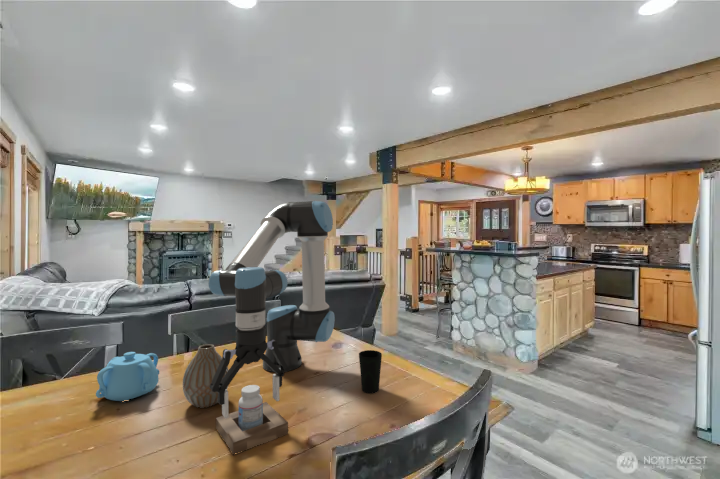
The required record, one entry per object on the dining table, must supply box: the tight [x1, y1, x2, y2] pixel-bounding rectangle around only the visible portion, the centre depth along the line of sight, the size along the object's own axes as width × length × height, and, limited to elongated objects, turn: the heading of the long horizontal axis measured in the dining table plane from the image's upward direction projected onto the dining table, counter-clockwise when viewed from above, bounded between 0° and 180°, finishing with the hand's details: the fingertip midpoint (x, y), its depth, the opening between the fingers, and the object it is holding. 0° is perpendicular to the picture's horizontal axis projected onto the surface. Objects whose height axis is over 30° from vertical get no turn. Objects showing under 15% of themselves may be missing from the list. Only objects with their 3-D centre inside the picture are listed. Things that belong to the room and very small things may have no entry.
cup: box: [358, 349, 383, 395], centre depth 113 cm, size 8×8×12 cm
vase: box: [182, 343, 229, 409], centre depth 105 cm, size 13×13×18 cm
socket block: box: [215, 401, 289, 455], centre depth 89 cm, size 14×14×3 cm
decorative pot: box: [95, 351, 160, 402], centre depth 111 cm, size 16×16×14 cm
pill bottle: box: [238, 384, 264, 431], centre depth 89 cm, size 6×6×11 cm
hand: (251, 407), depth 89 cm, fingers open, 13 cm apart
